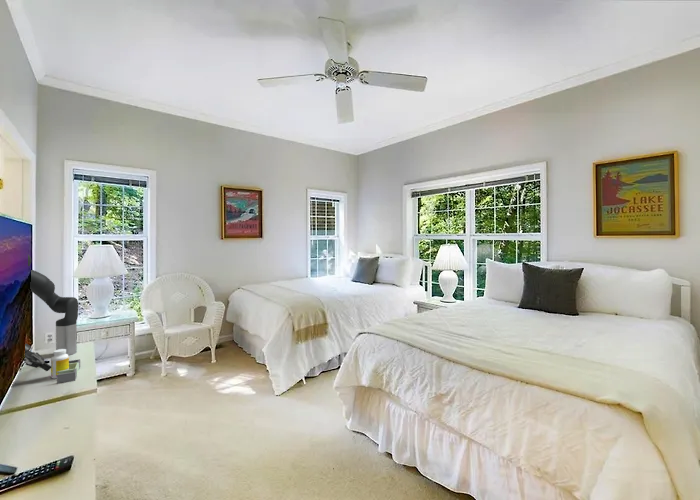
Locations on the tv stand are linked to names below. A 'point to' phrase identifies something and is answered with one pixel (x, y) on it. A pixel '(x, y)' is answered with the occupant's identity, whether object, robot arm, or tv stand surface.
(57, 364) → the supplement bottle
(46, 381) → the tv stand surface
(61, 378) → the bay rack
